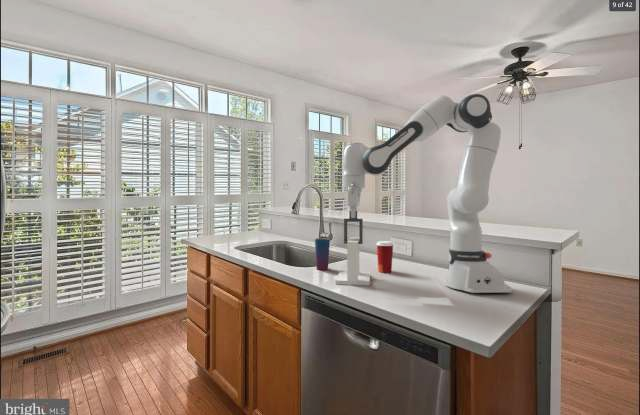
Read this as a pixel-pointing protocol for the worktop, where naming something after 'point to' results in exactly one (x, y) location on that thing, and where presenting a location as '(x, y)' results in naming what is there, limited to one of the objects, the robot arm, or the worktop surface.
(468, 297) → the worktop surface
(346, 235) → the loop
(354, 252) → the white post stand
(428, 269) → the worktop surface
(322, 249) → the cup
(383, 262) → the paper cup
